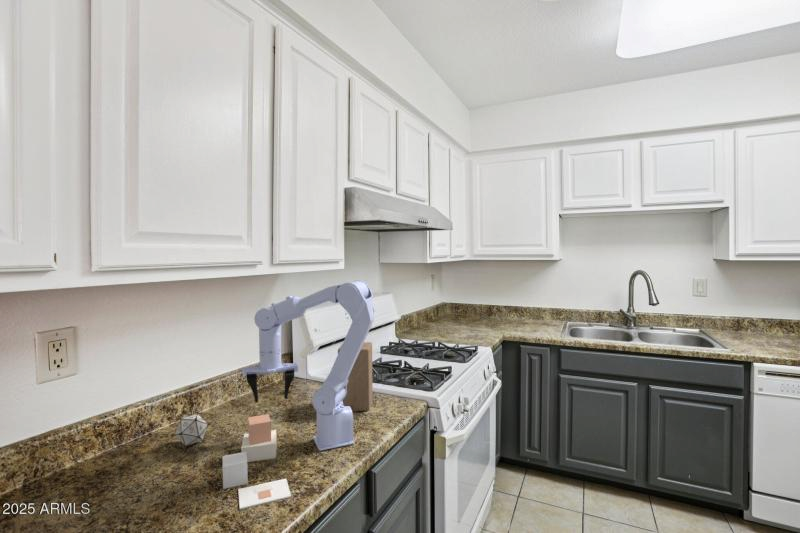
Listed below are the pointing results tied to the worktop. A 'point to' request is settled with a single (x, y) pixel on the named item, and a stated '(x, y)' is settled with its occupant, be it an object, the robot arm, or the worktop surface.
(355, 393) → the wooden block
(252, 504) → the card
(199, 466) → the worktop surface
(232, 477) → the white cube
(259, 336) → the robot arm
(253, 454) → the cream base block
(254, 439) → the terracotta cube
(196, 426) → the game die
